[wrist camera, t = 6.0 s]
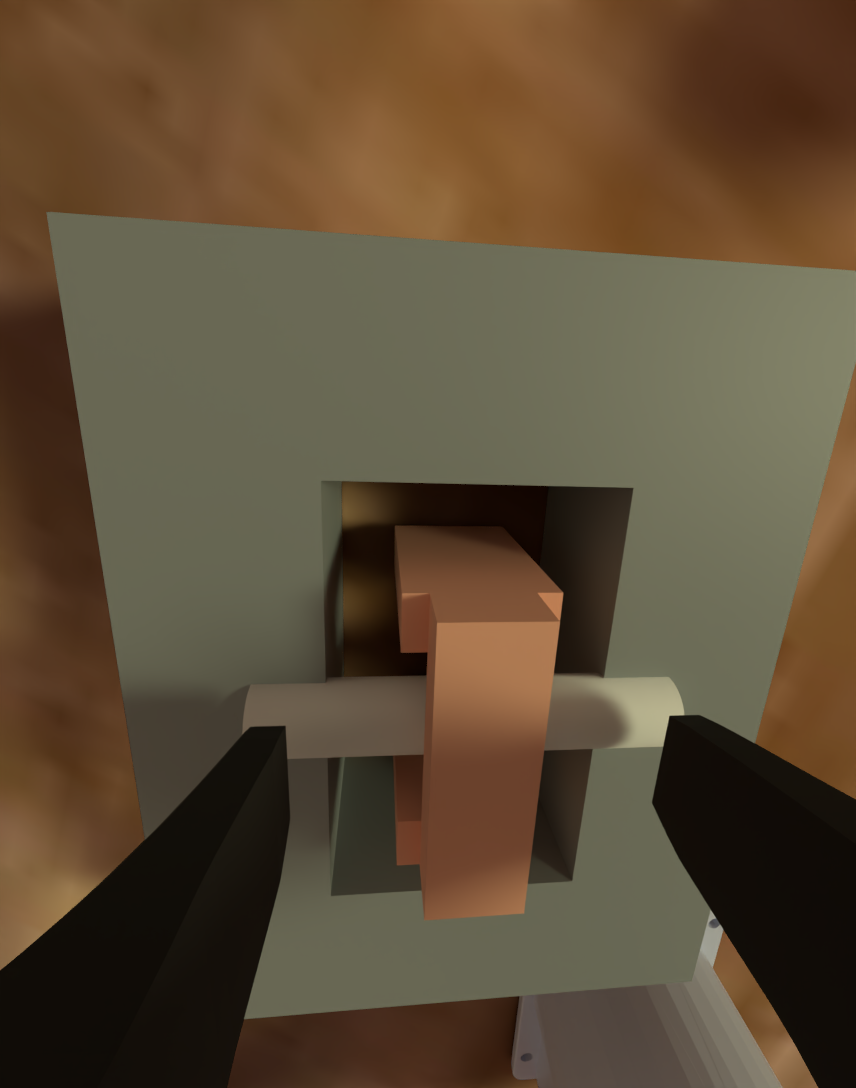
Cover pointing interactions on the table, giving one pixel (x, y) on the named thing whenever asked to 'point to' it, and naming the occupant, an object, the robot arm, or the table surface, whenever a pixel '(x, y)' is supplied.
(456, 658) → the orange arch block
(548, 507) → the grey panel with window
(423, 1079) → the table surface
